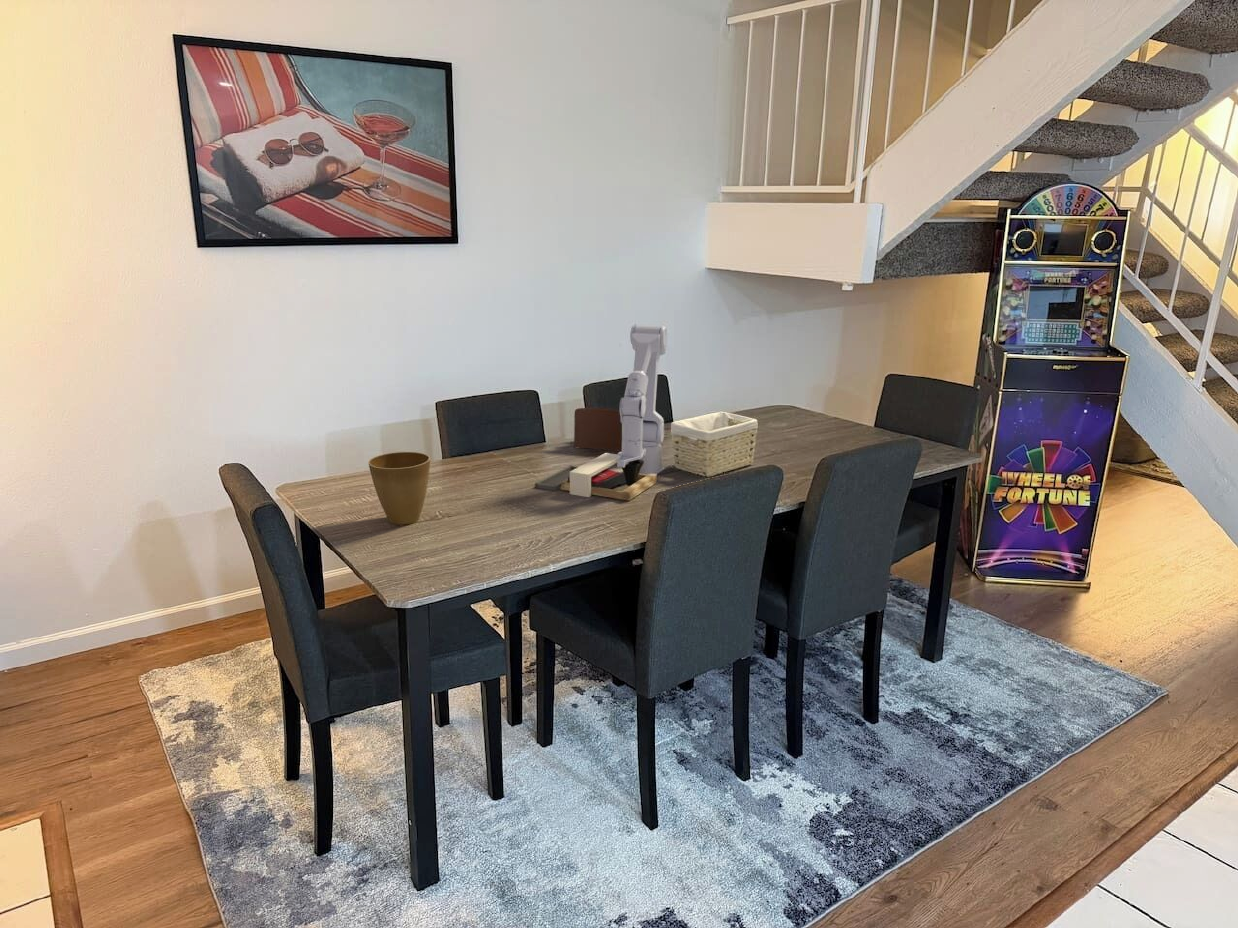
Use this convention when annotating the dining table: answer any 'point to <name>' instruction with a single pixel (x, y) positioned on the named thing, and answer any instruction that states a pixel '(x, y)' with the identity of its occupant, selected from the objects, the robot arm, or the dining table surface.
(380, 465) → the plant pot
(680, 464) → the storage basket
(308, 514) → the dining table surface
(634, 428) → the robot arm
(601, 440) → the letter holder
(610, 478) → the calculator
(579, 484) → the tunnel
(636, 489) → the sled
